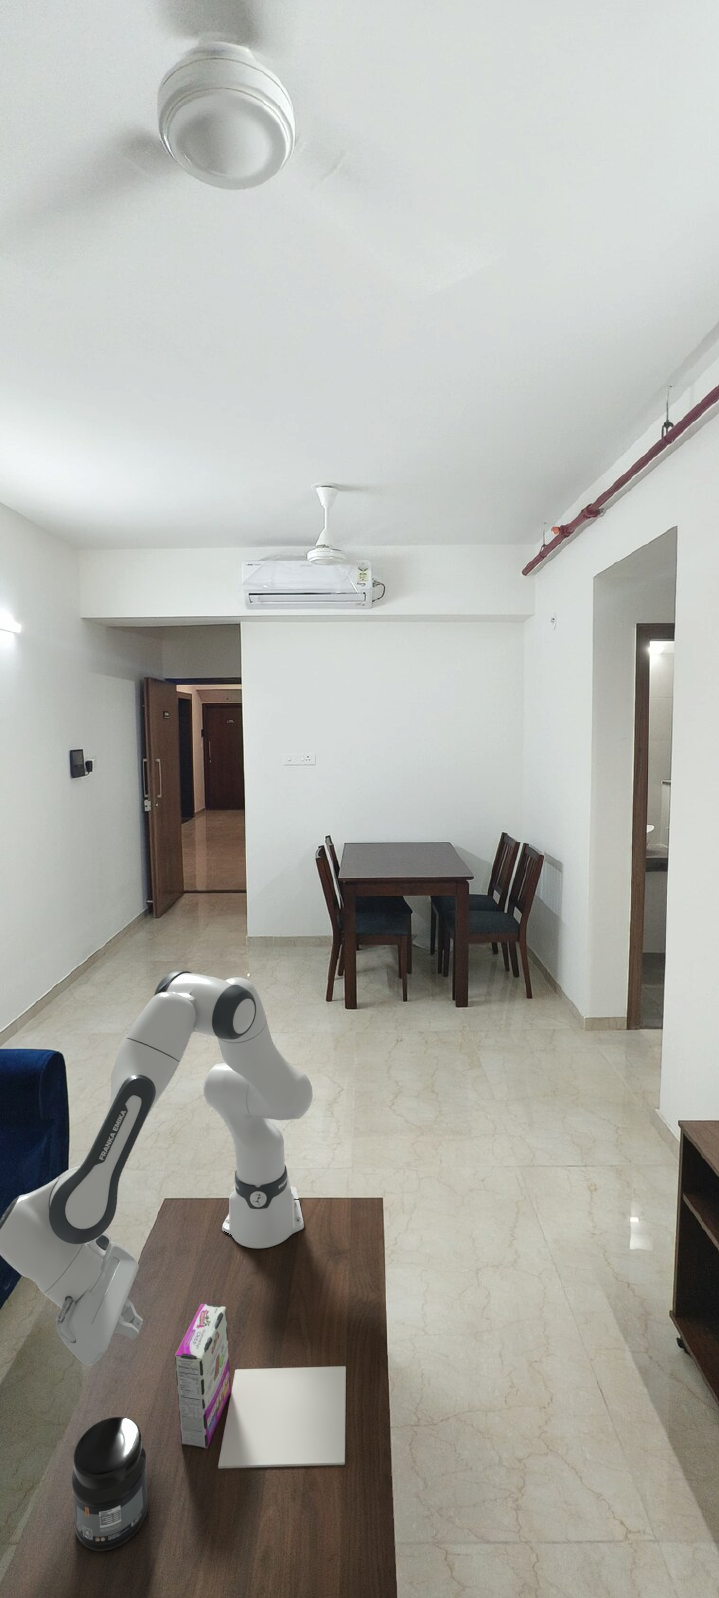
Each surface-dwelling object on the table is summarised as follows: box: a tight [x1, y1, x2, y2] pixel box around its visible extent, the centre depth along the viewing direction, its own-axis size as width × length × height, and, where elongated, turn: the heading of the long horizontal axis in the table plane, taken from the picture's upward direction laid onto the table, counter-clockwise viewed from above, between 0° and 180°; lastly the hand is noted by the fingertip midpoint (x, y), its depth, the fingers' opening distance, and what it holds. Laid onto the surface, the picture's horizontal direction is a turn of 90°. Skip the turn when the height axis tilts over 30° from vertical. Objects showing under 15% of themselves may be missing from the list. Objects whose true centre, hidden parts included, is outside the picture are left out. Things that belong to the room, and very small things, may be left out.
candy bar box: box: [174, 1303, 232, 1449], centre depth 129 cm, size 11×5×16 cm, turn 169°
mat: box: [217, 1365, 347, 1469], centre depth 130 cm, size 18×20×1 cm
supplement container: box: [70, 1416, 149, 1552], centre depth 114 cm, size 10×10×12 cm
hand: (138, 1330), depth 128 cm, fingers closed
